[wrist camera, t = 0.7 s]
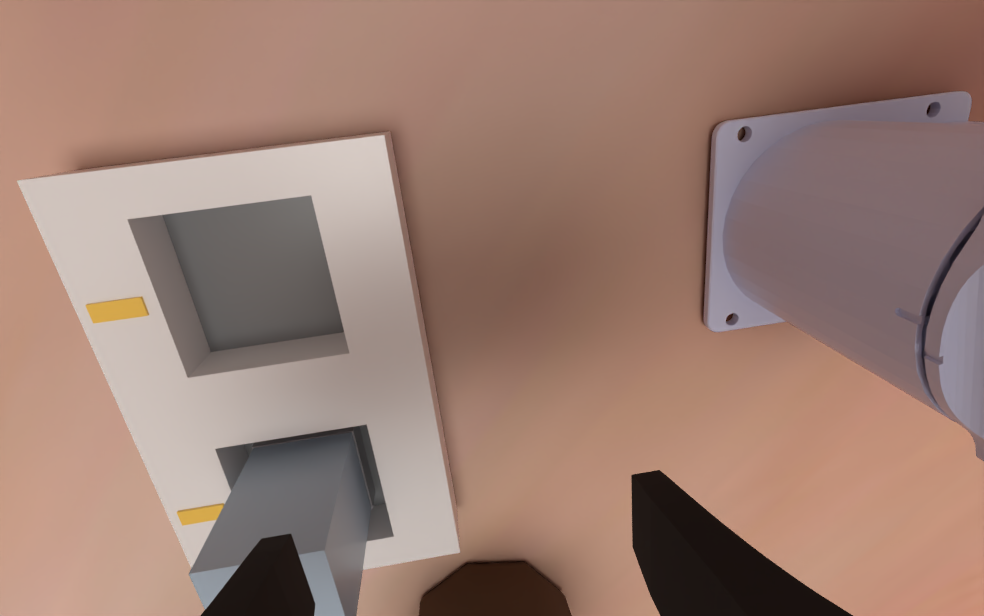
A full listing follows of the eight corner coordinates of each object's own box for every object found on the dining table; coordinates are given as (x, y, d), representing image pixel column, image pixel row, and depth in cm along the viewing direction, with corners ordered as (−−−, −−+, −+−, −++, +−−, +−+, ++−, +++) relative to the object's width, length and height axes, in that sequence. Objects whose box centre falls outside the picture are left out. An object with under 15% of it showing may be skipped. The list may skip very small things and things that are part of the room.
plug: (356, 415, 20) (325, 548, 14) (375, 490, 21) (354, 640, 15) (260, 431, 20) (186, 573, 14) (285, 506, 21) (228, 664, 15)
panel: (390, 131, 17) (383, 135, 15) (457, 507, 23) (460, 554, 21) (75, 170, 16) (13, 180, 14) (228, 547, 22) (203, 600, 20)
